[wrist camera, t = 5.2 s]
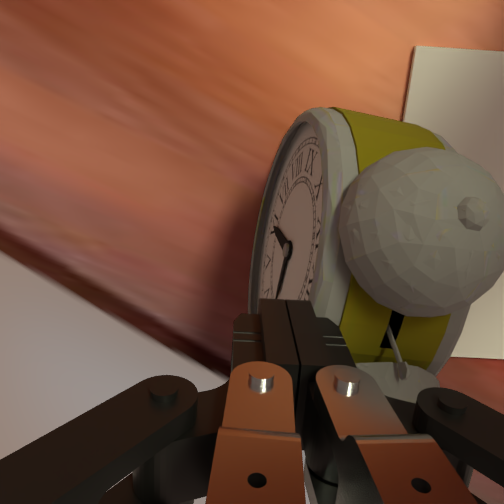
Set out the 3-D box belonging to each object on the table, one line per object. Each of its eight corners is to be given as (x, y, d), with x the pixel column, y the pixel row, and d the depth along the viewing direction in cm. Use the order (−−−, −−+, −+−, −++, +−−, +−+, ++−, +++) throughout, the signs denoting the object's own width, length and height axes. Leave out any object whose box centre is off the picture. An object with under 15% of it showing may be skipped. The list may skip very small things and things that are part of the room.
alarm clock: (276, 95, 23) (401, 119, 10) (396, 120, 25) (661, 175, 11) (234, 296, 27) (279, 524, 13) (340, 309, 29) (483, 530, 15)
